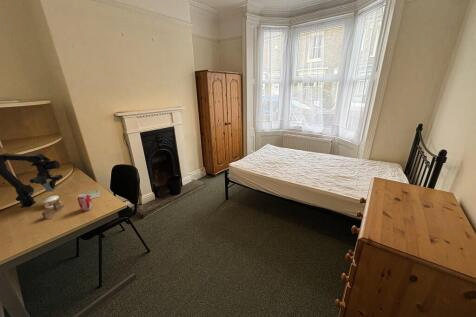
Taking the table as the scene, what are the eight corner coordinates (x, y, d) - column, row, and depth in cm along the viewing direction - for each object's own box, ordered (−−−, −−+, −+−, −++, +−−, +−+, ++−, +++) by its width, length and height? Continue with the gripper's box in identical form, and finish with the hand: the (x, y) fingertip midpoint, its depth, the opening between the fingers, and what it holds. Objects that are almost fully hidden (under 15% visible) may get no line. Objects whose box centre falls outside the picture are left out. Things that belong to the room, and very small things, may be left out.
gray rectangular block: (46, 191, 148) (42, 183, 145) (50, 189, 151) (46, 181, 149) (52, 191, 148) (48, 183, 146) (55, 188, 152) (52, 180, 149)
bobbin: (42, 209, 143) (39, 202, 141) (50, 202, 151) (47, 196, 149) (56, 207, 145) (53, 201, 143) (63, 201, 153) (61, 194, 151)
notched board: (40, 220, 131) (37, 213, 129) (55, 207, 145) (53, 200, 143) (51, 219, 132) (48, 212, 130) (65, 205, 147) (62, 199, 145)
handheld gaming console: (84, 199, 152) (84, 192, 164) (85, 201, 153) (84, 194, 164) (99, 195, 158) (98, 188, 169) (100, 197, 159) (98, 190, 170)
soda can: (95, 207, 144) (90, 193, 140) (84, 213, 138) (80, 198, 134) (89, 205, 147) (85, 191, 143) (79, 210, 141) (74, 196, 137)
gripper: (19, 176, 135) (28, 195, 140) (49, 173, 138) (57, 192, 143) (31, 169, 145) (39, 188, 151) (59, 167, 148) (66, 185, 154)
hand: (50, 188), depth 149 cm, fingers closed on gray rectangular block, 4 cm apart
